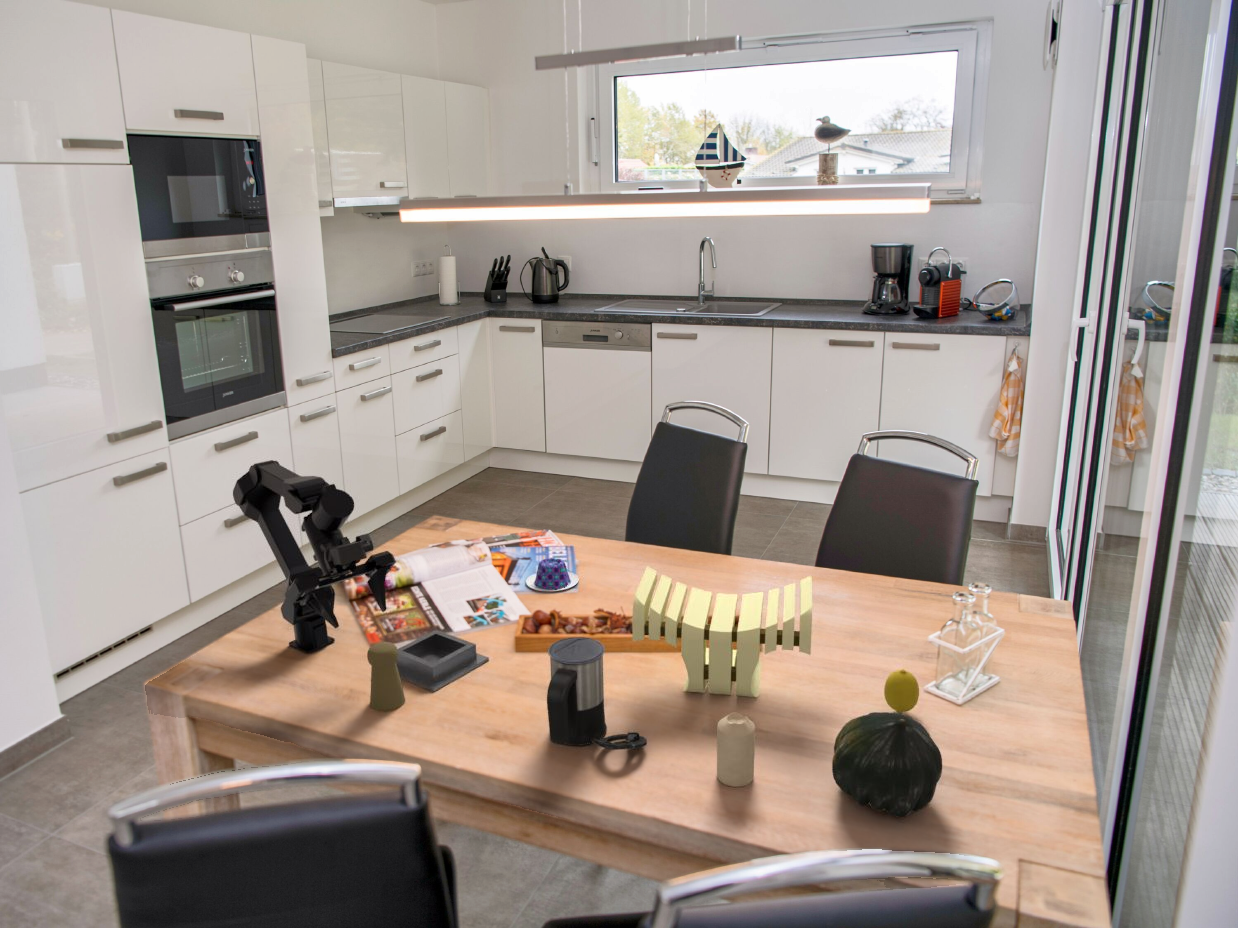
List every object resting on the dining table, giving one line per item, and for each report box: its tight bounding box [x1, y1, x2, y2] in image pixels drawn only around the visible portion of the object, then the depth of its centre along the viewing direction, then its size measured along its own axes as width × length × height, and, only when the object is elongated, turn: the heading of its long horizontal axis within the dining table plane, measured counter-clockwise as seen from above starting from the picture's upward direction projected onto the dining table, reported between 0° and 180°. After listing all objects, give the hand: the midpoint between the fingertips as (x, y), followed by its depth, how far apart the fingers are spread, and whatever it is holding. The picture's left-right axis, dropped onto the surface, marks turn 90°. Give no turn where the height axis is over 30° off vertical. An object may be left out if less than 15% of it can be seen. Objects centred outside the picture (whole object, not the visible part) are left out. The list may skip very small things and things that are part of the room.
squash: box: [831, 711, 943, 819], centre depth 129 cm, size 14×15×15 cm
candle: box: [716, 711, 756, 788], centre depth 135 cm, size 6×6×10 cm
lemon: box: [883, 668, 920, 714], centre depth 151 cm, size 6×6×8 cm
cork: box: [366, 641, 406, 713], centre depth 157 cm, size 6×6×11 cm
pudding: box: [525, 557, 579, 592], centre depth 207 cm, size 12×12×5 cm
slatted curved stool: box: [631, 565, 813, 698], centre depth 162 cm, size 30×16×18 cm, turn 79°
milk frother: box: [546, 636, 648, 751], centre depth 144 cm, size 14×16×15 cm
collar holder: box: [396, 629, 490, 693], centre depth 171 cm, size 14×14×4 cm
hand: (361, 618), depth 161 cm, fingers open, 9 cm apart
